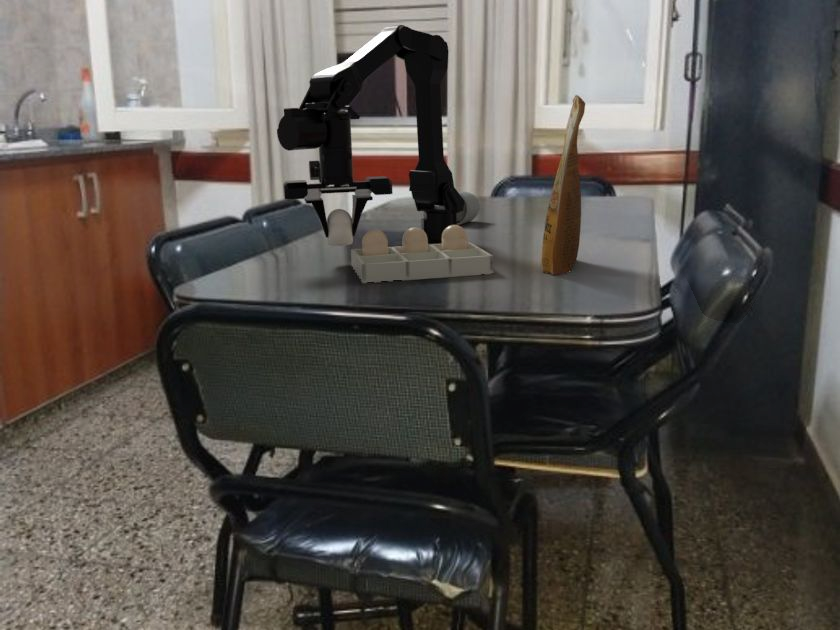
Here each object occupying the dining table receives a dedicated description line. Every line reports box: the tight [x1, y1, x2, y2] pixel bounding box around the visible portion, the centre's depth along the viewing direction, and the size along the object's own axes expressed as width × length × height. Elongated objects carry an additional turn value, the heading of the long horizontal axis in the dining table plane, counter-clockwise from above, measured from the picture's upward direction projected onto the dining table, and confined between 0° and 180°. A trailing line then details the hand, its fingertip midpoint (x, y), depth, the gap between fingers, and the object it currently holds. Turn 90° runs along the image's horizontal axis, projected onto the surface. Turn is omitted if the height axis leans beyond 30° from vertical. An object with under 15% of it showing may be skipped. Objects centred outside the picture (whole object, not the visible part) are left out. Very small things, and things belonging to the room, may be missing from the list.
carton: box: [350, 225, 494, 284], centre depth 132 cm, size 22×15×7 cm
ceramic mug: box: [457, 191, 480, 226], centre depth 185 cm, size 11×8×8 cm
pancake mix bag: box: [541, 94, 586, 276], centre depth 129 cm, size 7×19×28 cm, turn 164°
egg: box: [326, 208, 354, 247], centre depth 139 cm, size 4×4×6 cm
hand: (340, 236), depth 140 cm, fingers closed on egg, 4 cm apart
